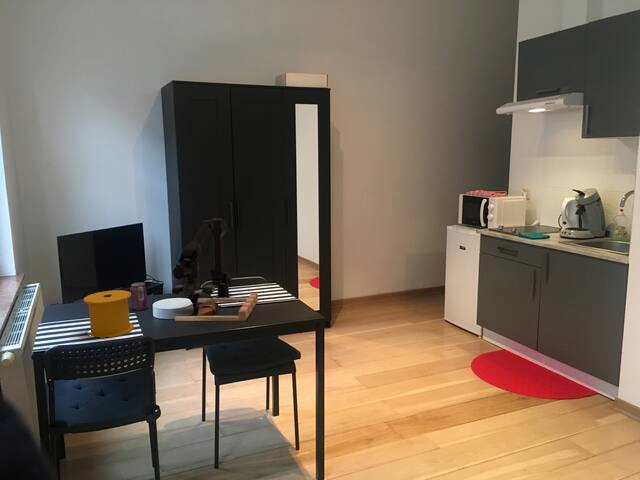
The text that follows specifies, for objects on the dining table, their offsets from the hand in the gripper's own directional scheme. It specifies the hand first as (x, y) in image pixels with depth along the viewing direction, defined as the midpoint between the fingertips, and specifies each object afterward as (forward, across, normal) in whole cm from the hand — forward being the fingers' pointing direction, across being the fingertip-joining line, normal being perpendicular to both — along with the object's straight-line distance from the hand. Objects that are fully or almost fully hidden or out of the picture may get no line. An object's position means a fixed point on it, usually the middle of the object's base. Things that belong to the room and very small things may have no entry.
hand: (194, 307), depth 240 cm
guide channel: (+2, +11, 0) cm, 11 cm away
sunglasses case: (+2, +6, 0) cm, 6 cm away
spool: (+2, -27, -27) cm, 38 cm away
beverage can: (+2, -27, +3) cm, 27 cm away
